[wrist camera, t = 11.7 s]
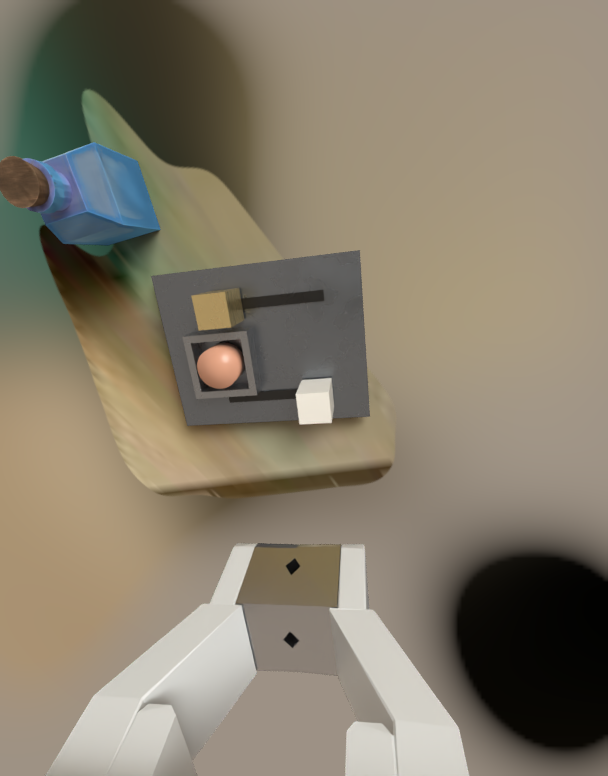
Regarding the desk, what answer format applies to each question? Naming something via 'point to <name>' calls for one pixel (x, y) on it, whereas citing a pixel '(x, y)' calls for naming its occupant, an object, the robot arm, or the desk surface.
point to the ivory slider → (315, 401)
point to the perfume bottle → (82, 194)
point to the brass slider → (218, 309)
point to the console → (272, 337)
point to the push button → (221, 365)
